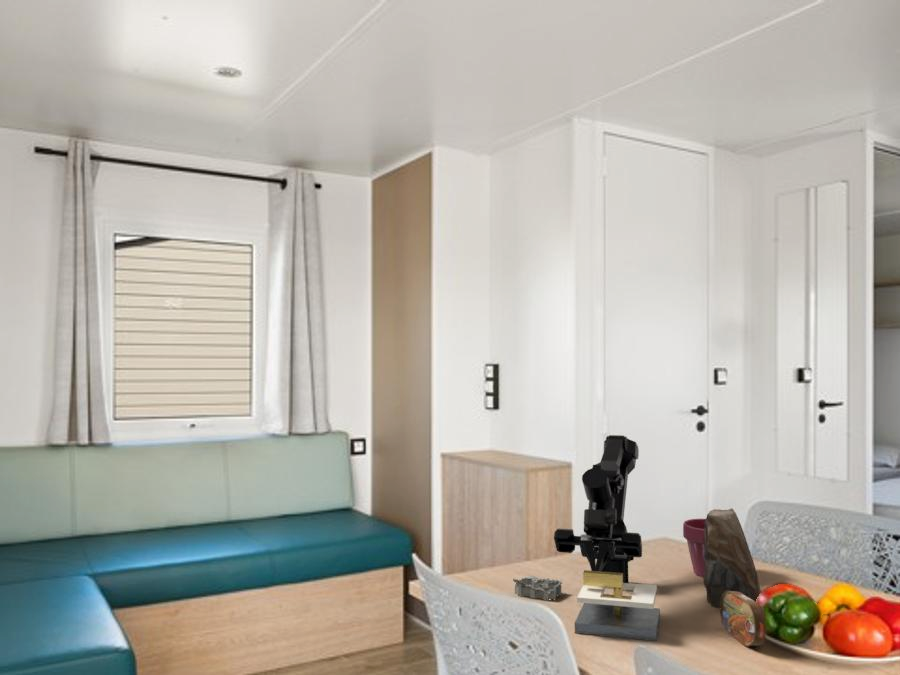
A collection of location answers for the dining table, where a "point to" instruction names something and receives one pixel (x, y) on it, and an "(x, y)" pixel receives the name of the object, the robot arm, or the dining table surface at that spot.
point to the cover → (640, 599)
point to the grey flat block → (618, 622)
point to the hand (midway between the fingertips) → (594, 576)
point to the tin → (743, 618)
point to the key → (607, 585)
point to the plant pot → (696, 543)
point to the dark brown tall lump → (727, 558)
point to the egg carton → (538, 587)
